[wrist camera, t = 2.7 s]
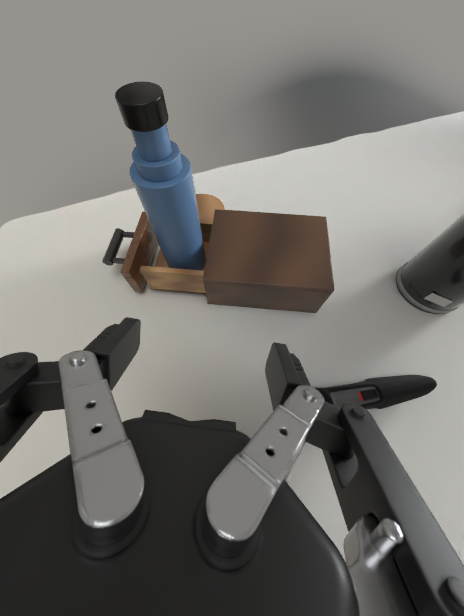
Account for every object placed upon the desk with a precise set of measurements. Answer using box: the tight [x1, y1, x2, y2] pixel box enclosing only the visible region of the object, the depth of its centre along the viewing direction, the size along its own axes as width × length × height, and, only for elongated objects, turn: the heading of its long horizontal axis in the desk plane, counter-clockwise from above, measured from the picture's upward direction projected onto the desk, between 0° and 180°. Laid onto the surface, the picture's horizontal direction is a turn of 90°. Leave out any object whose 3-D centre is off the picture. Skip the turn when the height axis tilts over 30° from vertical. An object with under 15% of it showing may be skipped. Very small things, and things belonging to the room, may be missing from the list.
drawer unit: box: [203, 209, 334, 313], centre depth 34 cm, size 16×12×7 cm
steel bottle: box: [115, 82, 206, 270], centre depth 27 cm, size 6×6×21 cm
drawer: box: [103, 212, 213, 293], centre depth 35 cm, size 20×11×5 cm, turn 85°
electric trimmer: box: [315, 375, 437, 409], centre depth 28 cm, size 4×16×3 cm, turn 99°
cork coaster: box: [196, 194, 225, 220], centre depth 43 cm, size 9×9×1 cm
